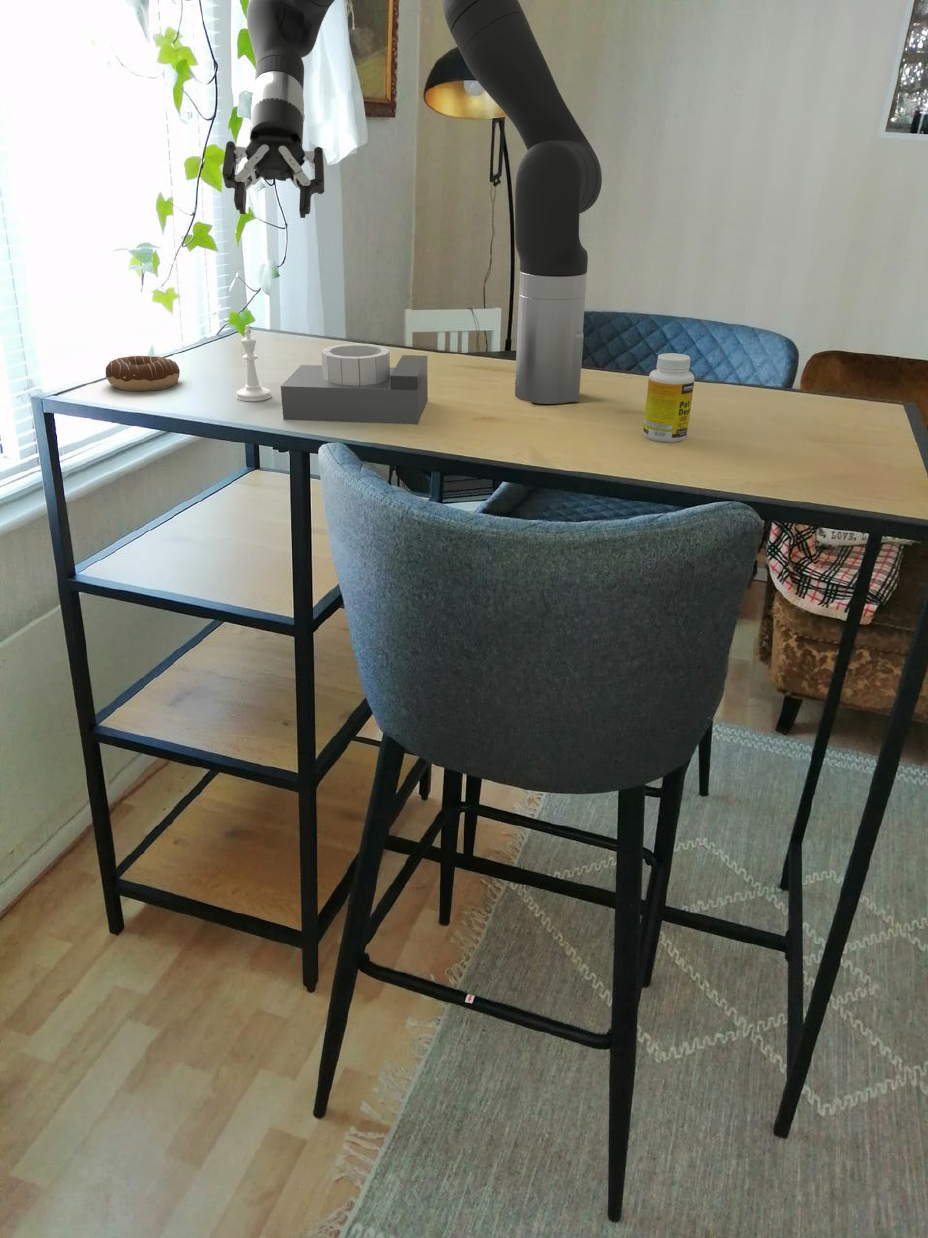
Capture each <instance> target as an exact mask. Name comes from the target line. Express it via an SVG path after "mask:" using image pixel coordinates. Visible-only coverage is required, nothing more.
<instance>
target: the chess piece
mask: <svg viewBox="0 0 928 1238" xmlns="http://www.w3.org/2000/svg"><path fill="white" fill-rule="evenodd" d="M244 328H245V330H244V335H245V336H246V337H244V338H242V339H241V343H242V346H243V348H244V351H245V354H244V355H242V359H243V360H246V363H247V365H246V367H247V368H246V369H247V370H246V371H247V372H246V384H244V388H241V389H238V391H236V399H237V400H239V401H241V402H242V401H243V402H261V401H267V400H268V399H271V398H272V393H271V390H270V389H268V388H267V387H263V386H262V384H261V383H259V378H258V375H257V370H256V365H255V360H258V359H259V356H258V355H257V354H255V353H254V351H255V348H256V345H257V344H256V343H257V339H255V338H254V337H251V333H252V328H250V324H246V325H245V327H244Z"/></svg>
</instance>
